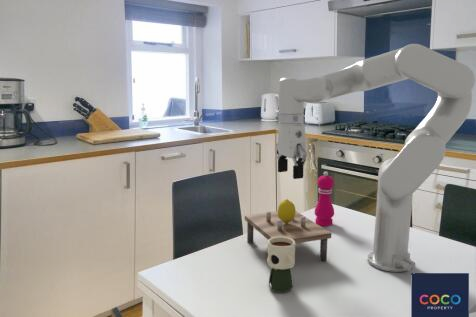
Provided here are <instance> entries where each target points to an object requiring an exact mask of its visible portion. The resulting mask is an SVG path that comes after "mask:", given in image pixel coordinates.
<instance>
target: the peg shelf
mask: <svg viewBox="0 0 476 317" xmlns="http://www.w3.org/2000/svg"><path fill="white" fill-rule="evenodd" d="M244 221H245V222H246V223H247V225H246V226H247V236H246V237H247V238H246V239H247V240H246V241H247V243H249V244H253V243H254V229H255V230H256V231H257V232H259V233H260V234H261V235H262V236H263V237H264V238H265V239H266V240H267V241H268V240H269V239H270V238H273V237H288V238H291V239H293V240H294V241H295V245H296V244H303V243H308V242H309V243H310V242H315V241H320V243H319V244H320V249H319V261H320V262H323V263H325V262H327V257H328V254H327V253H328V239H332V232H331V231H328V230H327V229H325V228H324V227H323V226H320V225H317V224H316V223H315V222H314V221H313V220H311V219H310V218H308V217H306V216H304V214H302V213H300V212H298V211H296V213H295V217H294V219H293V220H292V221H291V222H289V223H288V224H285V223H284V222H282V220H280V219H279V217H278V210H276V211H266V212H261V213H259V212H258V213H252V214H245V215H244Z"/></svg>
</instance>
